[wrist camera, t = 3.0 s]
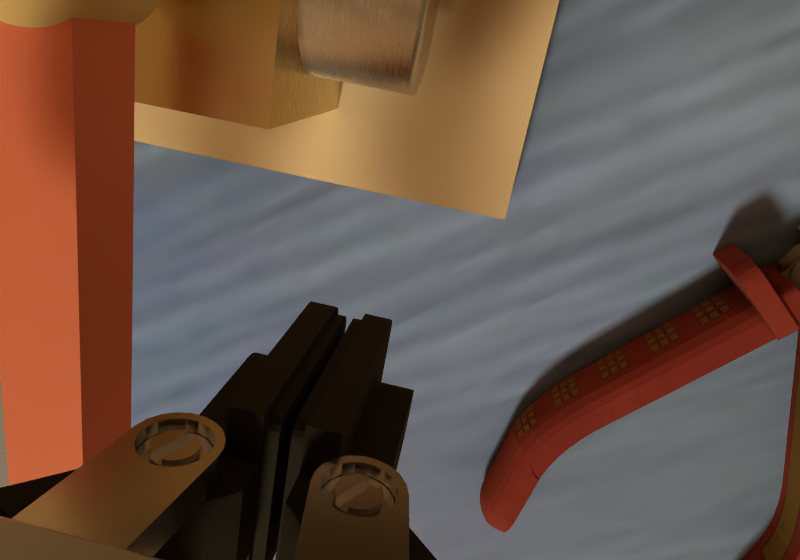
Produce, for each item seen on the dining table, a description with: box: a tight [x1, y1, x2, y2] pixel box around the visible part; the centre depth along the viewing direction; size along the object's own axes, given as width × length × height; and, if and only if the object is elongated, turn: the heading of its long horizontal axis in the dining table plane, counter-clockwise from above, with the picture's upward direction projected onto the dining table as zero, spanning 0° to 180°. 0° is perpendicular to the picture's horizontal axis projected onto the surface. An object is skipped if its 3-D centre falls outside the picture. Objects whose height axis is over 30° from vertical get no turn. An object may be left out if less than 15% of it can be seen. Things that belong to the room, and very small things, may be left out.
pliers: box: [480, 224, 800, 560], centre depth 19 cm, size 12×20×3 cm, turn 158°
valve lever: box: [0, 0, 162, 485], centre depth 11 cm, size 12×3×2 cm, turn 170°
